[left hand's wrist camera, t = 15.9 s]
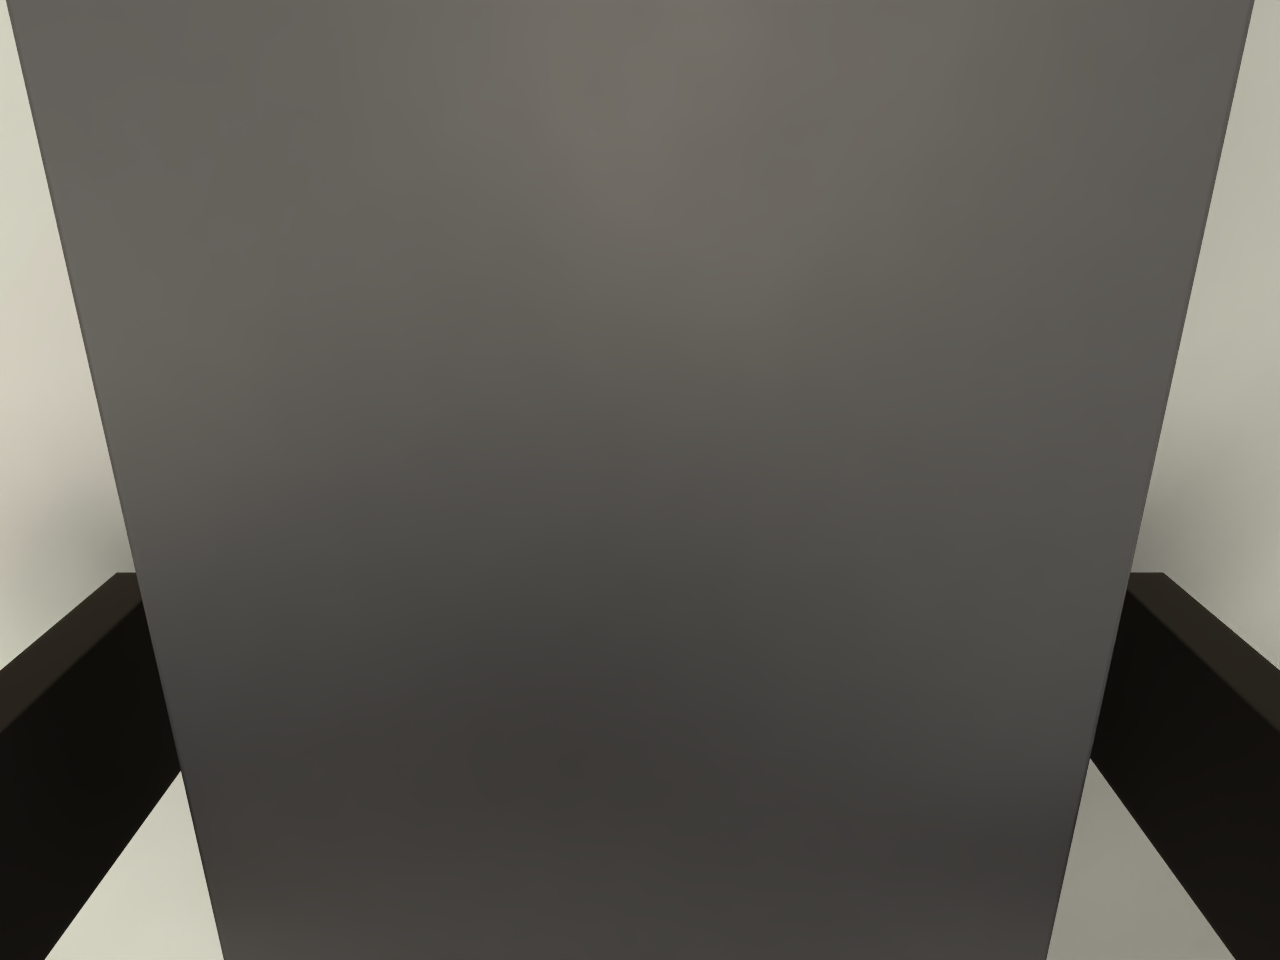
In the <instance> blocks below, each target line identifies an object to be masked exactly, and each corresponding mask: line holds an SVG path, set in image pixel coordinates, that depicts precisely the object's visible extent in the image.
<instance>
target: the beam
mask: <svg viewBox="0 0 1280 960" xmlns="http://www.w3.org/2000/svg"><path fill="white" fill-rule="evenodd" d="M6 2H7V7H8V11H9V15H10V20H11V24H12V29H13V33H14V37H15V42H16V46H17V51H18V55H19V59H20V64H21V68H22V73H23V77H24V81H25V86H26V90H27V95H28V99H29V104H30V108H31V112H32V117H33V121H34V126H35V130H36V134H37V139H38V143H39V148H40V152H41V156H42V161H43V165H44V170H45V174H46V178H47V183H48V187H49V192H50V196H51V200H52V205H53V209H54V214H55V218H56V222H57V227H58V231H59V236H60V240H61V244H62V249H63V253H64V258H65V262H66V266H67V271H68V275H69V280H70V284H71V288H72V293H73V297H74V302H75V306H76V310H77V315H78V319H79V324H80V328H81V332H82V337H83V341H84V346H85V350H86V354H87V359H88V363H89V368H90V372H91V376H92V381H93V385H94V390H95V394H96V398H97V403H98V407H99V412H100V416H101V420H102V425H103V429H104V434H105V438H106V442H107V447H108V451H109V456H110V460H111V464H112V469H113V473H114V478H115V482H116V486H117V491H118V495H119V500H120V504H121V508H122V513H123V517H124V522H125V526H126V530H127V535H128V539H129V544H130V548H131V552H132V557H133V561H134V566H135V570H136V574H137V579H138V583H139V588H140V592H141V597H142V601H143V605H144V610H145V614H146V619H147V623H148V627H149V632H150V636H151V641H152V645H153V649H154V654H155V658H156V663H157V667H158V671H159V676H160V680H161V685H162V689H163V693H164V698H165V702H166V707H167V711H168V715H169V720H170V724H171V729H172V733H173V737H174V742H175V746H176V751H177V755H178V759H179V764H180V768H181V773H182V777H183V781H184V786H185V790H186V795H187V799H188V803H189V808H190V812H191V817H192V821H193V825H194V830H195V834H196V839H197V843H198V847H199V852H200V856H201V861H202V865H203V869H204V874H205V878H206V883H207V887H208V891H209V896H210V900H211V905H212V909H213V913H214V918H215V922H216V927H217V931H218V935H219V940H220V944H221V949H222V953H223V957H224V960H1046V958H1047V953H1048V949H1049V944H1050V939H1051V935H1052V930H1053V926H1054V921H1055V916H1056V912H1057V907H1058V902H1059V898H1060V893H1061V889H1062V884H1063V879H1064V875H1065V870H1066V866H1067V861H1068V856H1069V852H1070V847H1071V843H1072V838H1073V833H1074V829H1075V824H1076V820H1077V815H1078V810H1079V806H1080V801H1081V797H1082V792H1083V787H1084V783H1085V778H1086V774H1087V769H1088V764H1089V760H1090V755H1091V751H1092V746H1093V741H1094V737H1095V732H1096V728H1097V723H1098V718H1099V714H1100V709H1101V705H1102V700H1103V695H1104V691H1105V686H1106V681H1107V677H1108V672H1109V668H1110V663H1111V658H1112V654H1113V649H1114V645H1115V640H1116V635H1117V631H1118V626H1119V622H1120V617H1121V612H1122V608H1123V603H1124V599H1125V594H1126V589H1127V585H1128V580H1129V576H1130V571H1131V566H1132V562H1133V557H1134V553H1135V548H1136V543H1137V539H1138V534H1139V530H1140V525H1141V520H1142V516H1143V511H1144V507H1145V502H1146V497H1147V493H1148V488H1149V484H1150V479H1151V474H1152V470H1153V465H1154V461H1155V456H1156V451H1157V447H1158V442H1159V437H1160V433H1161V428H1162V424H1163V419H1164V414H1165V410H1166V405H1167V401H1168V396H1169V391H1170V387H1171V382H1172V378H1173V373H1174V368H1175V364H1176V359H1177V355H1178V350H1179V345H1180V341H1181V336H1182V332H1183V327H1184V322H1185V318H1186V313H1187V309H1188V304H1189V299H1190V295H1191V290H1192V286H1193V281H1194V276H1195V272H1196V267H1197V263H1198V258H1199V253H1200V249H1201V244H1202V240H1203V235H1204V230H1205V226H1206V221H1207V216H1208V212H1209V207H1210V203H1211V198H1212V193H1213V189H1214V184H1215V180H1216V175H1217V170H1218V166H1219V161H1220V157H1221V152H1222V147H1223V143H1224V138H1225V134H1226V129H1227V124H1228V120H1229V115H1230V111H1231V106H1232V101H1233V97H1234V92H1235V88H1236V83H1237V78H1238V74H1239V69H1240V65H1241V60H1242V55H1243V51H1244V46H1245V42H1246V37H1247V32H1248V28H1249V23H1250V19H1251V14H1252V9H1253V5H1254V0H6Z"/></svg>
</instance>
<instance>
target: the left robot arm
mask: <svg viewBox="0 0 1280 960" xmlns="http://www.w3.org/2000/svg"><path fill="white" fill-rule="evenodd" d="M1090 758H1091V760H1092V761H1093V763H1094V764H1095V765H1096V767H1097V768H1098V770H1099V771H1100V772H1101V774H1102V775H1103V776H1104V778H1105V779H1106V781H1107V782H1108V783H1109V785H1110V786H1111V788H1112V789H1113V790H1114V792H1115V793H1116V794H1117V796H1118V797H1119V799H1120V800H1121V801H1122V803H1123V804H1124V806H1125V807H1126V808H1127V810H1128V811H1129V813H1130V814H1131V815H1132V817H1133V818H1134V819H1135V821H1136V822H1137V824H1138V825H1139V826H1140V828H1141V829H1142V831H1143V832H1144V833H1145V835H1146V836H1147V837H1148V839H1149V840H1150V842H1151V843H1152V844H1153V846H1154V847H1155V849H1156V850H1157V851H1158V853H1159V854H1160V856H1161V857H1162V858H1163V860H1164V861H1165V862H1166V864H1167V865H1168V867H1169V868H1170V869H1171V871H1172V872H1173V874H1174V875H1175V876H1176V878H1177V879H1178V881H1179V882H1180V883H1181V885H1182V886H1183V887H1184V889H1185V890H1186V892H1187V893H1188V894H1189V896H1190V897H1191V899H1192V900H1193V901H1194V903H1195V904H1196V905H1197V907H1198V908H1199V910H1200V911H1201V912H1202V914H1203V915H1204V917H1205V918H1206V919H1207V921H1208V922H1209V924H1210V925H1211V926H1212V928H1213V929H1214V930H1215V932H1216V933H1217V935H1218V936H1219V937H1220V939H1221V940H1222V942H1223V943H1224V944H1225V946H1226V947H1227V948H1228V950H1229V951H1230V953H1231V954H1232V955H1233V957H1234V958H1235V960H1280V670H1278V669H1277V668H1276V667H1275V666H1274V665H1272V664H1271V663H1270V662H1269V661H1268V660H1267V659H1265V658H1264V657H1263V656H1262V655H1261V654H1259V653H1258V652H1257V651H1256V650H1255V649H1253V648H1252V647H1251V646H1250V645H1249V644H1247V643H1246V642H1245V641H1244V640H1243V639H1242V638H1240V637H1239V636H1238V635H1237V634H1236V633H1234V632H1233V631H1232V630H1231V629H1230V628H1228V627H1227V626H1226V625H1225V624H1224V623H1222V622H1221V621H1220V620H1219V619H1218V618H1217V617H1215V616H1214V615H1213V614H1212V613H1211V612H1209V611H1208V610H1207V609H1206V608H1205V607H1203V606H1202V605H1201V604H1200V603H1199V602H1197V601H1196V600H1195V599H1194V598H1193V597H1192V596H1190V595H1189V594H1188V593H1187V592H1186V591H1184V590H1183V589H1182V588H1181V587H1180V586H1178V585H1177V584H1176V583H1175V582H1174V581H1172V580H1171V579H1170V578H1169V577H1168V576H1166V575H1165V574H1164V573H1130V576H1129V580H1128V585H1127V589H1126V594H1125V599H1124V603H1123V608H1122V612H1121V617H1120V622H1119V626H1118V631H1117V635H1116V640H1115V645H1114V649H1113V654H1112V658H1111V663H1110V668H1109V672H1108V677H1107V681H1106V686H1105V691H1104V695H1103V700H1102V705H1101V709H1100V714H1099V718H1098V723H1097V728H1096V732H1095V737H1094V741H1093V746H1092V751H1091V755H1090ZM180 771H181V768H180V764H179V759H178V755H177V751H176V746H175V742H174V737H173V733H172V729H171V724H170V720H169V715H168V711H167V707H166V702H165V698H164V693H163V689H162V685H161V680H160V676H159V671H158V667H157V663H156V658H155V654H154V649H153V645H152V641H151V636H150V632H149V627H148V623H147V619H146V614H145V610H144V605H143V601H142V597H141V592H140V588H139V583H138V579H137V574H136V573H116V574H115V575H114V576H112V577H111V578H110V579H109V580H108V581H106V582H105V583H104V584H103V585H102V586H100V587H99V588H98V589H97V590H96V591H94V592H93V593H92V594H91V595H90V596H88V597H87V598H86V599H85V600H84V601H83V602H81V603H80V604H79V605H78V606H77V607H75V608H74V609H73V610H72V611H71V612H69V613H68V614H67V615H66V616H65V617H63V618H62V619H61V620H60V621H59V622H58V623H56V624H55V625H54V626H53V627H52V628H50V629H49V630H48V631H47V632H46V633H44V634H43V635H42V636H41V637H40V638H38V639H37V640H36V641H35V642H34V643H33V644H31V645H30V646H29V647H28V648H27V649H25V650H24V651H23V652H22V653H21V654H19V655H18V656H17V657H16V658H15V659H13V660H12V661H11V662H10V663H9V664H8V665H6V666H5V667H4V668H3V669H2V670H0V960H45V958H46V957H47V955H48V954H49V953H50V951H51V950H52V948H53V947H54V946H55V944H56V943H57V942H58V940H59V939H60V937H61V936H62V935H63V933H64V932H65V930H66V929H67V928H68V926H69V925H70V924H71V922H72V921H73V919H74V918H75V917H76V915H77V914H78V912H79V911H80V910H81V908H82V907H83V905H84V904H85V903H86V901H87V900H88V899H89V897H90V896H91V894H92V893H93V892H94V890H95V889H96V887H97V886H98V885H99V883H100V882H101V881H102V879H103V878H104V876H105V875H106V874H107V872H108V871H109V869H110V868H111V867H112V865H113V864H114V862H115V861H116V860H117V858H118V857H119V856H120V854H121V853H122V851H123V850H124V849H125V847H126V846H127V844H128V843H129V842H130V840H131V839H132V837H133V836H134V835H135V833H136V832H137V831H138V829H139V828H140V826H141V825H142V824H143V822H144V821H145V819H146V818H147V817H148V815H149V814H150V813H151V811H152V810H153V808H154V807H155V806H156V804H157V803H158V801H159V800H160V799H161V797H162V796H163V794H164V793H165V792H166V790H167V789H168V788H169V786H170V785H171V783H172V782H173V781H174V779H175V778H176V776H177V775H178V774H179V772H180Z"/></svg>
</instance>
